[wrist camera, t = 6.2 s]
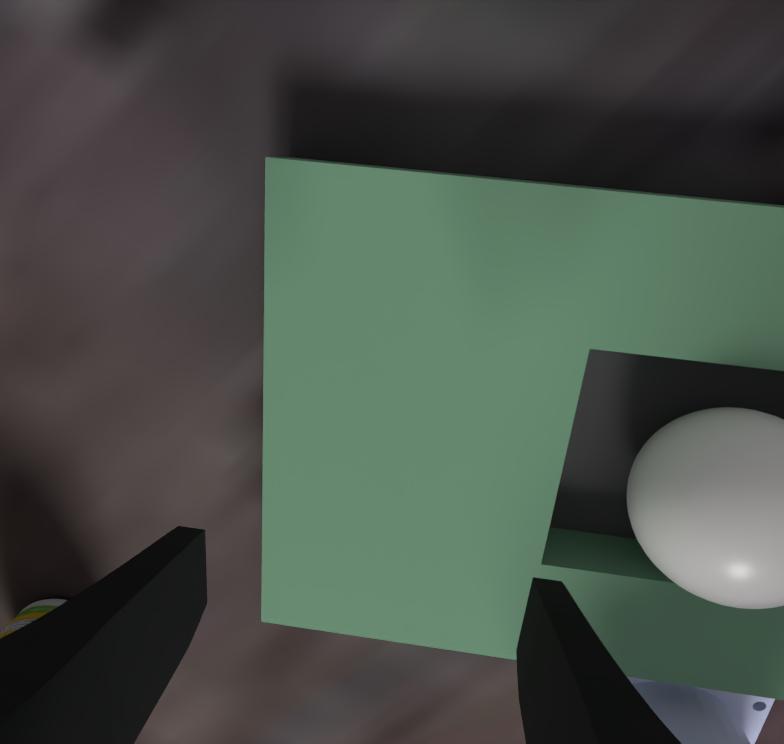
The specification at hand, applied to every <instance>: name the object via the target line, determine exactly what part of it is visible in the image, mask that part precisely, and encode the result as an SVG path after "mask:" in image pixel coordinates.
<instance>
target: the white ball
mask: <svg viewBox="0 0 784 744" xmlns="http://www.w3.org/2000/svg"><path fill="white" fill-rule="evenodd" d="M626 498H627V508H628V515H629V518H630V522H631V525H632V529H633V531H634V533H635V536H636V538H637V540H638V542H639V544H640V545H641V547H642V548H643V550H644V552H645V553H646V555H647V556H648V557H649V559H650V560H651V561H652V562H653V564H654V565H655V566H656V567H657V568H658V569H659V570H660V571H661V572H662V573H664V574H665V575H666V576H667V577H668V578H669V579H670V580H672V581H673V582H674V583H676V584H677V585H678V586H680V587H682V588H683V589H685V590H687V591H688V592H690V593H692V594H694V595H696V596H699V597H701V598H703V599H705V600H708V601H711V602H714V603H717V604H720V605H724V606H729V607H735V608H744V609H766V608H775V607H780V606H784V419H781V418H779V417H777V416H774V415H771V414H767V413H764V412H761V411H757V410H752V409H746V408H732V407H720V408H710V409H704V410H700V411H695V412H692V413H689V414H686V415H684V416H681V417H679V418H677V419H675V420H673V421H671V422H670V423H668V424H666V425H665V426H663V427H662V428H661V429H659V430H658V431H657V432H656V433H654V434H653V435H652V436H651V437H650V438H649V440H648V441H647V442H646V443H645V444H644V446H643V447H642V448H641V450H640V451H639V453H638V455H637V456H636V458H635V460H634V462H633V465H632V468H631V471H630V474H629V478H628V483H627V497H626Z"/></svg>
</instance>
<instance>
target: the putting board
mask: <svg viewBox="0 0 784 744" xmlns="http://www.w3.org/2000/svg"><path fill="white" fill-rule="evenodd" d="M720 407H732V408H746V409H752V410H757V411H761V412H764V413H767V414H771V415H774V416H777V417H779V418H781V419H784V205H775V204H764V203H754V202H744V201H734V200H723V199H713V198H703V197H693V196H682V195H672V194H662V193H652V192H641V191H631V190H621V189H610V188H600V187H590V186H580V185H569V184H559V183H549V182H539V181H528V180H518V179H508V178H497V177H487V176H477V175H467V174H456V173H446V172H436V171H426V170H415V169H405V168H395V167H384V166H374V165H364V164H354V163H343V162H333V161H323V160H313V159H302V158H292V157H265V256H264V373H263V490H262V607H261V622H268V623H274V624H281V625H288V626H294V627H301V628H308V629H314V630H321V631H327V632H334V633H341V634H347V635H354V636H361V637H367V638H374V639H381V640H387V641H394V642H400V643H407V644H414V645H420V646H427V647H434V648H440V649H447V650H453V651H460V652H467V653H473V654H480V655H487V656H493V657H500V658H507V659H513V660H517V654H516V649H517V645H518V640H519V636H520V631H521V627H522V623H523V618H524V614H525V610H526V605H527V601H528V596H529V592H530V588H531V583H532V579H533V577H535V578H542V579H549V580H556V581H562V582H563V584H564V585H565V586H566V588H567V589H568V591H569V592H570V594H571V596H572V597H573V599H574V600H575V602H576V603H577V605H578V607H579V608H580V610H581V611H582V613H583V614H584V616H585V617H586V619H587V620H588V622H589V623H590V625H591V627H592V628H593V630H594V631H595V633H596V634H597V636H598V637H599V638H600V640H601V641H602V643H603V644H604V646H605V647H606V649H607V650H608V651H609V653H610V654H611V656H612V657H613V658H614V660H615V661H616V663H617V664H618V665H619V667H620V668H621V670H622V671H623V672H624V674H625V675H626V676H627V677H633V678H639V679H646V680H652V681H659V682H666V683H672V684H679V685H686V686H692V687H699V688H706V689H712V690H719V691H725V692H732V693H739V694H745V695H752V696H759V697H765V698H772V699H778V700H784V606H780V607H775V608H766V609H744V608H735V607H729V606H724V605H720V604H717V603H714V602H711V601H708V600H705V599H703V598H701V597H699V596H696V595H694V594H692V593H690V592H688V591H687V590H685V589H683V588H682V587H680V586H678V585H677V584H676V583H674V582H673V581H672V580H670V579H669V578H668V577H667V576H666V575H665V574H664V573H662V572H661V571H660V570H659V569H658V568H657V567H656V566H655V565H654V564H653V562H652V561H651V560H650V559H649V557H648V556H647V555H646V553H645V552H644V550H643V548H642V547H641V545H640V544H639V542H638V540H637V538H636V536H635V533H634V531H633V529H632V525H631V522H630V518H629V515H628V508H627V498H626V497H627V483H628V478H629V474H630V471H631V468H632V465H633V462H634V460H635V458H636V456H637V455H638V453H639V451H640V450H641V448H642V447H643V446H644V444H645V443H646V442H647V441H648V440H649V438H650V437H651V436H652V435H653V434H654V433H656V432H657V431H658V430H659V429H661V428H662V427H663V426H665V425H666V424H668V423H670V422H671V421H673V420H675V419H677V418H679V417H681V416H684V415H686V414H689V413H692V412H695V411H700V410H704V409H710V408H720Z"/></svg>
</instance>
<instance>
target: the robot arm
mask: <svg viewBox="0 0 784 744" xmlns="http://www.w3.org/2000/svg"><path fill="white" fill-rule="evenodd" d="M206 604H207V579H206V546H205V530H202V529H195V528H188V527H181V526H178V527H176V528H175V529H173V530H172V531H170V532H169V533H167V534H166V535H165V536H163V537H162V538H160V539H159V540H157V541H156V542H155V543H153V544H152V545H150V546H149V547H148V548H146V549H145V550H143V551H142V552H140V553H139V554H138V555H136V556H135V557H133V558H132V559H130V560H129V561H128V562H126V563H125V564H123V565H122V566H120V567H119V568H117V569H116V570H114V571H113V572H111V573H110V574H108V575H107V576H105V577H104V578H103V579H101V580H100V581H98V582H97V583H95V584H93V585H92V586H90V587H89V588H87V589H85V590H84V591H82V592H81V593H79V594H77V595H76V596H74V597H73V598H71V599H69V600H68V601H66V602H64V603H63V604H61V605H60V606H58V607H56V608H55V609H53V610H52V611H50V612H48V613H46V614H45V615H43V616H41V617H40V618H38V619H36V620H34V621H32V622H31V623H29V624H27V625H25V626H23V627H21V628H20V629H18V630H16V631H14V632H12V633H10V634H8V635H6V636H4V637H2V638H1V639H0V744H134V742H135V740H136V739H137V737H138V735H139V733H140V732H141V730H142V728H143V726H144V725H145V723H146V721H147V719H148V718H149V716H150V714H151V713H152V711H153V709H154V707H155V706H156V704H157V702H158V700H159V699H160V697H161V695H162V693H163V692H164V690H165V688H166V686H167V685H168V683H169V681H170V679H171V678H172V676H173V674H174V672H175V670H176V669H177V667H178V665H179V663H180V662H181V660H182V658H183V656H184V654H185V653H186V651H187V649H188V647H189V645H190V643H191V640H192V638H193V636H194V633H195V631H196V629H197V627H198V624H199V622H200V619H201V617H202V614H203V612H204V609H205V607H206ZM516 654H517V675H518V691H519V702H520V708H521V715H522V721H523V727H524V733H525V739H526V744H755V742H756V740H757V737H758V735H759V733H760V731H761V729H762V727H763V724H764V722H765V720H766V718H767V716H768V713H769V711H770V709H771V707H772V705H773V702H774V700H775V699H772V698H765V697H759V696H752V695H745V694H739V693H732V692H725V691H719V690H712V689H706V688H699V687H692V686H686V685H679V684H672V683H666V682H659V681H652V680H646V679H639V678H633V677H627V676H626V675H625V674H624V672H623V671H622V670H621V668H620V667H619V665H618V664H617V663H616V661H615V660H614V658H613V657H612V656H611V654H610V653H609V651H608V650H607V649H606V647H605V646H604V644H603V643H602V641H601V640H600V638H599V637H598V636H597V634H596V633H595V631H594V630H593V628H592V627H591V625H590V623H589V622H588V620H587V619H586V617H585V616H584V614H583V613H582V611H581V610H580V608H579V607H578V605H577V603H576V602H575V600H574V599H573V597H572V596H571V594H570V592H569V591H568V589H567V588H566V586H565V585H564V584H563V582H562V581H556V580H549V579H542V578H535V577H533V579H532V583H531V588H530V592H529V596H528V601H527V605H526V610H525V614H524V618H523V623H522V627H521V631H520V636H519V640H518V645H517V649H516Z"/></svg>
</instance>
